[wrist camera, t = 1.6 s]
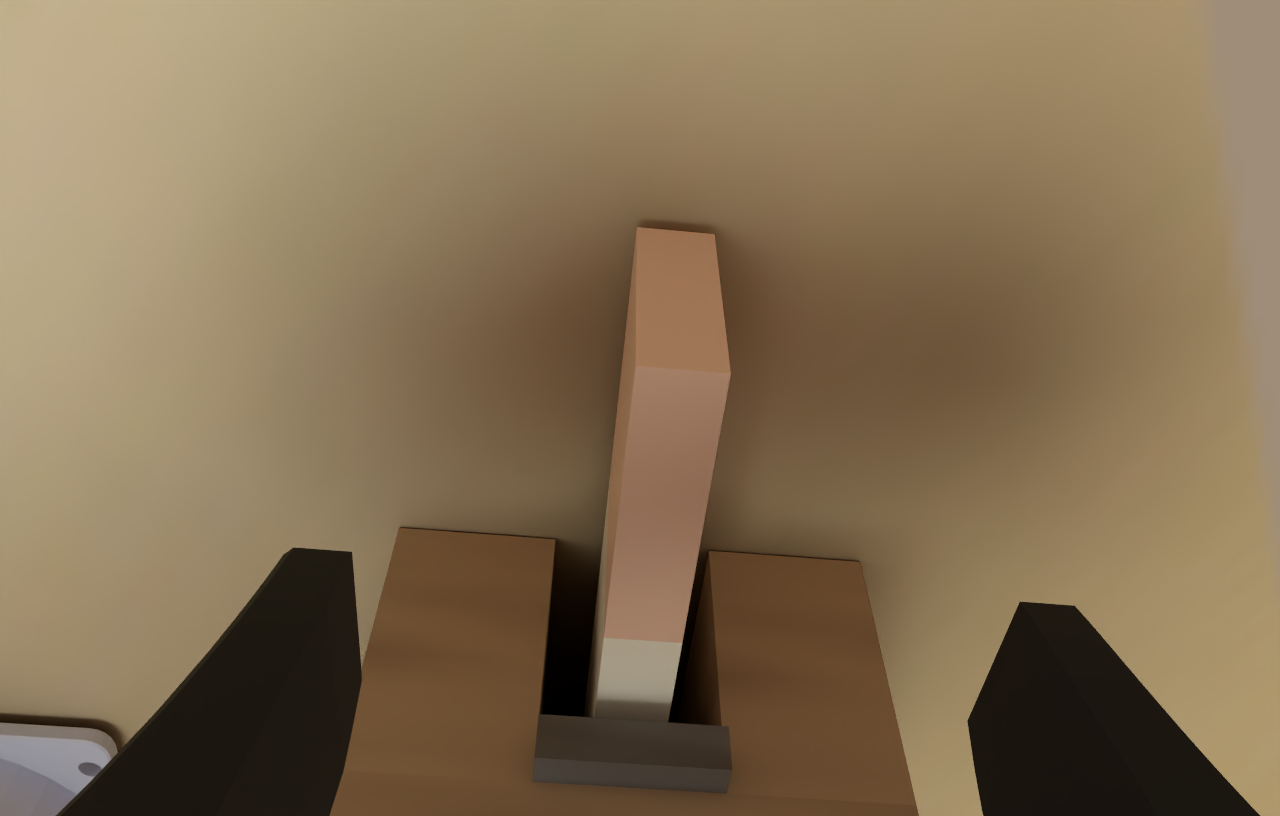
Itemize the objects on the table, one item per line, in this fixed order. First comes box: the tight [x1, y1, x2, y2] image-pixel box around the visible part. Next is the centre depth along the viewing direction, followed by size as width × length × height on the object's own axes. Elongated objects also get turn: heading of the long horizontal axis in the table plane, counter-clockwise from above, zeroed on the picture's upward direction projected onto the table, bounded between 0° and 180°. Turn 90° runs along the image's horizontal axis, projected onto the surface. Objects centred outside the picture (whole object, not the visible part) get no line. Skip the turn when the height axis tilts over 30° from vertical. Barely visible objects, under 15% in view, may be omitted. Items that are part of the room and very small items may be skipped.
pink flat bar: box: [584, 227, 731, 722], centre depth 19 cm, size 12×1×4 cm, turn 174°
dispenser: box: [330, 528, 919, 816], centre depth 20 cm, size 8×9×6 cm
